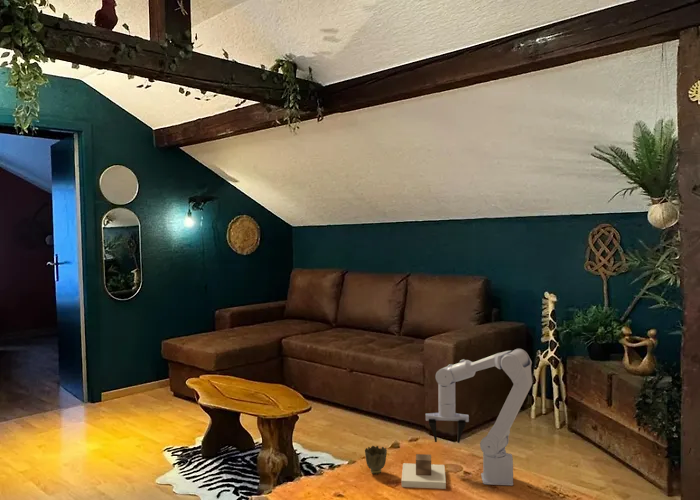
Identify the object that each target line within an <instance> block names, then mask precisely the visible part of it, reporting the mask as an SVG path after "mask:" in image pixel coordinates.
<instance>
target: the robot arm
mask: <svg viewBox="0 0 700 500" xmlns="http://www.w3.org/2000/svg"><path fill="white" fill-rule="evenodd" d="M532 364H533V362H532V360H531V358H530V356H529V354H528V352H527V351H526V350H524V349H522V348H516V349H514V350H505V351H502V352H497V353H495V354H492V355H490V356H487V357H483V358H481V359H478V360H476V361H471V360H469V359H465V358H463V359H461V360H459V362H458V363H455V364H452V363H450V364H448V365H447V366H444V367H442V368H440V369H438V370H437V371H436V373H435V381H436V383H437V385H438V388H437V389H438V400H437V401H438V412H430V413H425V421H426V422H428V424H429V427H430V430H431V432H432V434H433V437H434V439H433V440H434V443H437V442H438V437H437V421H443V422H444V421H446V422H451V421H452V422H457V439H456V440H457V443H458V444H460V443H461V436H462V435H463V431H464V429H465V427H466V423H469V422H470V419H469V418H470V416H469V414H464V413H457V412H456V382H457V383H458V382H460V381H463V380H467V379H470V378H473V377H474V376H475V375H476V372H478V371H482V370H483V371H484V370H486V369H489V368H493V367H495V368H497V369H498V370H501V369H502V370H503V372H504V373H505V374H506V376H508V377H509V379H510V380H511V382H512V384H513V385H512V387H511V390H510V391H509V392H508V393H509V394H508V395H507V397H506V399H505V402H504V404H503V405H502V408H501V410H500V411H499V414H498V416H497V417H496V420H495V421H494V424H493V426H492V427H491V428H490V429H489V431H488V433H487V435H485V436H484V437H483V438H482V439H481V441H480V442H479V446H480V450H481V451H482V456H483V457H482V462H483V463H482V465H483V466H482V467H483V468H482V472H481V473H480V476H481V481H482V484H483V485H492V486H493V485H494V486H497V485H498V486H514V461H513V454H511V453H509V452H508V453H507V451H506V447H507V446H508V445H509V441H510V440H509V437H510V434H511V431H510V430H511V428H512V426H513V424H514V422H515V420H516V417H517V416H518V413H519V412H520V411H521V407H522V406H523V404H524V401H525V400H526V398H527V396H528V393H529V392H530V390H531V388H532V385H533V379H532V378H533V377H532Z"/></svg>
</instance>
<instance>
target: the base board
mask: <svg viewBox="0 0 700 500" xmlns="http://www.w3.org/2000/svg"><path fill="white" fill-rule="evenodd" d="M446 484H447V481H446V468H445V464H434V463H433V464H432V463H431V476H428V475H416V463H410V462H409V463H407V462H404V463H402V472H401V485H400V486H401V488H419V489H420V488H423V489H440V490H441V489H443V490H446V489H447V488H446V487H447V485H446Z"/></svg>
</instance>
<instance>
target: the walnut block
mask: <svg viewBox="0 0 700 500" xmlns="http://www.w3.org/2000/svg"><path fill="white" fill-rule="evenodd" d="M415 464H416V475H428V476H431V464H432V455H431V454H428V453H427V454H425V453H424V454H423V453H421V454H420V453H416V454H415Z"/></svg>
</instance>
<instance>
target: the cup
mask: <svg viewBox="0 0 700 500" xmlns="http://www.w3.org/2000/svg"><path fill="white" fill-rule="evenodd" d="M364 449H365V450H364V453H365V456H364V457H365V463H366V465H367V467H368V468H369V469H370V473H371V474H373V475H380V474H381V472H382V469H383V468H384V466H385V465H386V460H387V453H388V450H387V448H386V447H384V446H382V447H381V448H379V445H376V446H375V445H372V446H368V447H366V448H364Z"/></svg>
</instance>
